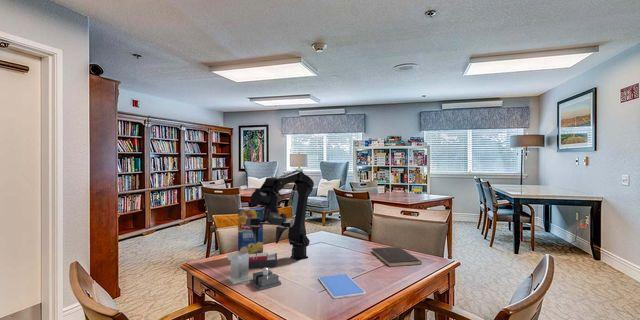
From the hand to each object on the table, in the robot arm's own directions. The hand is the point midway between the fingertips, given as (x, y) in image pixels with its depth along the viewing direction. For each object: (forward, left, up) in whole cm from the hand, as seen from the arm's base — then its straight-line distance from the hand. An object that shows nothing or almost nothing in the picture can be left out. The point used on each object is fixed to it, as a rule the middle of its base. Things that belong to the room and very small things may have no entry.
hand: (266, 243), depth 132 cm
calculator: (-3, -13, -13) cm, 19 cm away
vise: (+5, +10, -13) cm, 17 cm away
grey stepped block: (+13, 0, -12) cm, 18 cm away
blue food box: (-3, -25, -13) cm, 28 cm away
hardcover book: (-60, +17, -13) cm, 64 cm away
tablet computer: (-17, +29, -13) cm, 36 cm away
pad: (+12, 0, -13) cm, 17 cm away
